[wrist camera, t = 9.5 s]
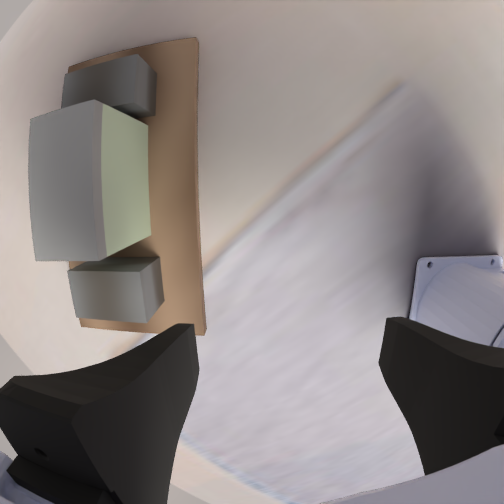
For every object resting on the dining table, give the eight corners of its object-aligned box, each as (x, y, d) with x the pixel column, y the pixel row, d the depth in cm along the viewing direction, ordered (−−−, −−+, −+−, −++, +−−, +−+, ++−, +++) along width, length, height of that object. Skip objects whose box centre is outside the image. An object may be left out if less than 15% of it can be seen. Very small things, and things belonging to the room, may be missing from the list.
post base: (198, 43, 16) (184, 11, 12) (206, 328, 21) (194, 363, 16) (75, 70, 17) (42, 53, 12) (87, 321, 21) (57, 347, 16)
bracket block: (148, 125, 17) (94, 99, 10) (151, 235, 18) (98, 261, 12) (95, 134, 17) (30, 118, 10) (98, 237, 18) (35, 261, 12)
